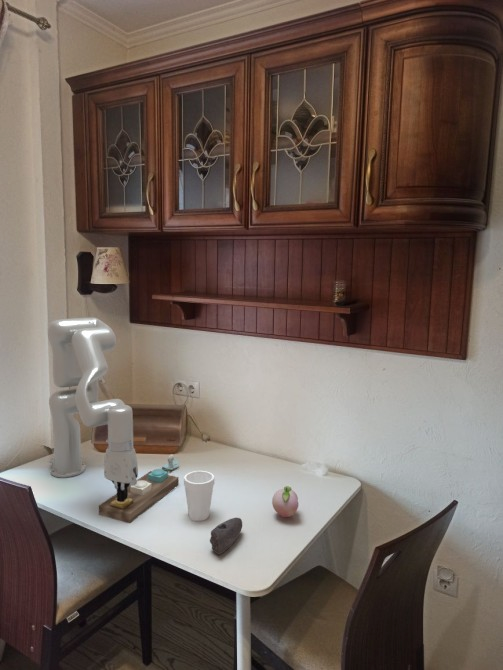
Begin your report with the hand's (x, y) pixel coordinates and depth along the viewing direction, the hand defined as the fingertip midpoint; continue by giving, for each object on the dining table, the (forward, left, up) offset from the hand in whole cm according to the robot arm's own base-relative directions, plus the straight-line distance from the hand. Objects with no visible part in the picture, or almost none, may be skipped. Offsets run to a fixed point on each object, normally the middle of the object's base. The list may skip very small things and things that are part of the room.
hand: (122, 499), depth 152 cm
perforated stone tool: (+38, -1, -5) cm, 38 cm away
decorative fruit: (+48, +20, -5) cm, 52 cm away
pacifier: (-5, +34, -5) cm, 35 cm away
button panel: (0, +10, -5) cm, 11 cm away
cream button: (0, +10, -3) cm, 10 cm away
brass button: (0, 0, -4) cm, 4 cm away
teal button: (0, +20, -3) cm, 20 cm away
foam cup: (+23, +9, -5) cm, 25 cm away
